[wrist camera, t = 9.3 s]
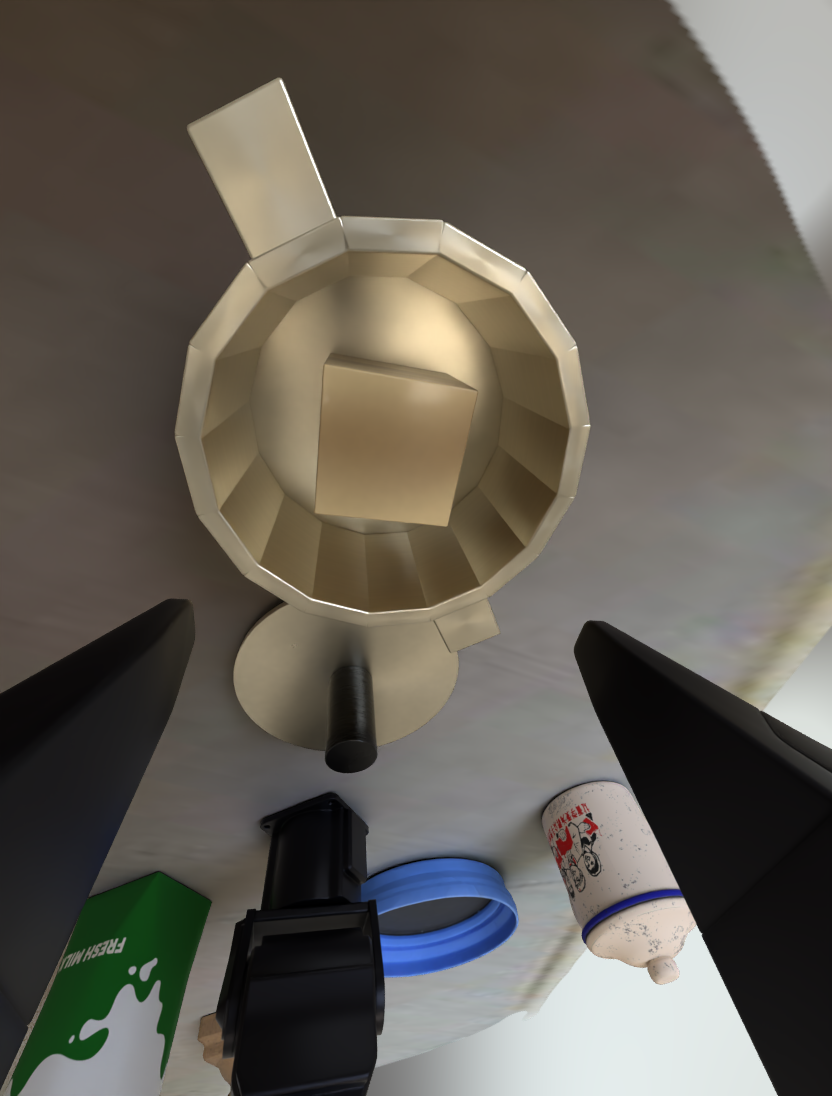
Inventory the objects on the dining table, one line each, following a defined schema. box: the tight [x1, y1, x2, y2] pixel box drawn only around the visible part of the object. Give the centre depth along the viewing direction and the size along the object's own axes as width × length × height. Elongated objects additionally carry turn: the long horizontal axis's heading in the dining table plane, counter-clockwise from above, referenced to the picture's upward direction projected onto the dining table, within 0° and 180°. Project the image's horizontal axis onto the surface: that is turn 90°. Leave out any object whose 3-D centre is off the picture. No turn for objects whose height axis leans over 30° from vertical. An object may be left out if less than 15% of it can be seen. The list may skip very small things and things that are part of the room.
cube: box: [314, 353, 478, 527], centre depth 16 cm, size 5×5×5 cm
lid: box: [233, 602, 459, 773], centre depth 23 cm, size 13×13×6 cm
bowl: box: [361, 858, 518, 978], centre depth 41 cm, size 18×18×4 cm
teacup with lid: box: [542, 781, 697, 985], centre depth 34 cm, size 12×9×12 cm
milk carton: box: [3, 872, 212, 1096], centre depth 27 cm, size 9×9×20 cm
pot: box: [175, 78, 591, 653], centre depth 16 cm, size 12×18×7 cm
